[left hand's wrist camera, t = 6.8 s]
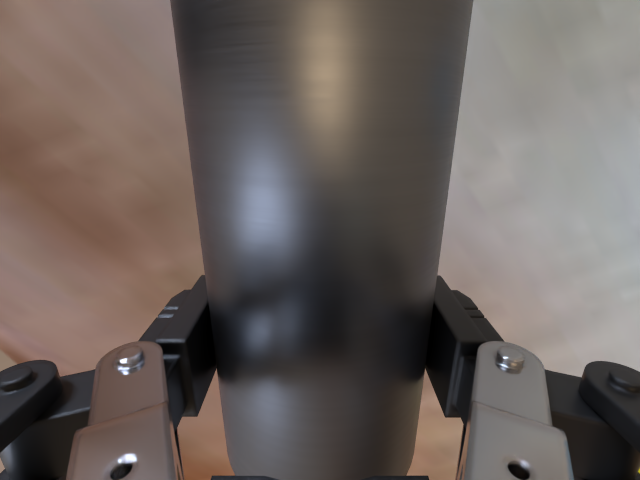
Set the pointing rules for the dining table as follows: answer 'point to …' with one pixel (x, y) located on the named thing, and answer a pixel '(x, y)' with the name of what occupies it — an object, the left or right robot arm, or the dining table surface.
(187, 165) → the dining table surface
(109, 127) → the dining table surface
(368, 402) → the rod
